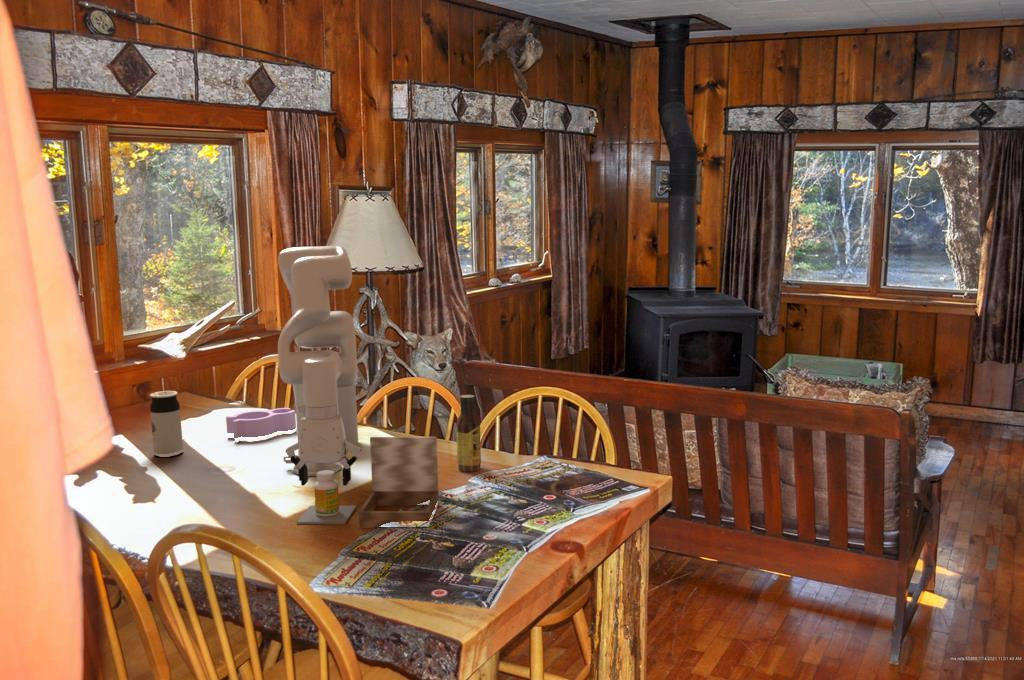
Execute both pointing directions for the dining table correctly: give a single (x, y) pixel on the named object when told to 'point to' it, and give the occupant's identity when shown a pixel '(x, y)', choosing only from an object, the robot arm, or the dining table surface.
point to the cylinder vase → (348, 412)
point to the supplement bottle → (326, 494)
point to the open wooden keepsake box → (401, 479)
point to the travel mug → (166, 422)
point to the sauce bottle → (468, 436)
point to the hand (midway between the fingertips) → (325, 483)
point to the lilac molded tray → (261, 422)
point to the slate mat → (339, 518)
